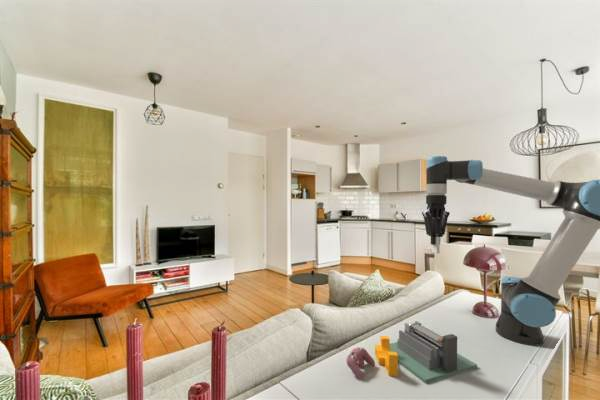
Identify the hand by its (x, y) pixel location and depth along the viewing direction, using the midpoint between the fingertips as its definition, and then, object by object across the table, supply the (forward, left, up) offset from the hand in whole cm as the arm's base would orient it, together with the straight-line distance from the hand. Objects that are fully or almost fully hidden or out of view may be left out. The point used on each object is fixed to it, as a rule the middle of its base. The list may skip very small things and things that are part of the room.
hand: (435, 252), depth 114 cm
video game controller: (+43, +11, -33) cm, 55 cm away
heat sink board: (+18, +13, -32) cm, 39 cm away
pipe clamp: (+34, +11, -33) cm, 48 cm away
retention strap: (+18, +13, -25) cm, 34 cm away
